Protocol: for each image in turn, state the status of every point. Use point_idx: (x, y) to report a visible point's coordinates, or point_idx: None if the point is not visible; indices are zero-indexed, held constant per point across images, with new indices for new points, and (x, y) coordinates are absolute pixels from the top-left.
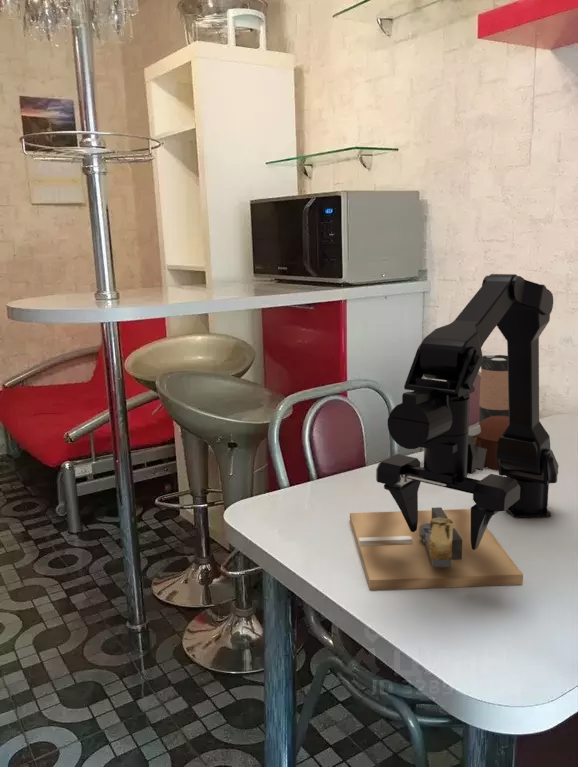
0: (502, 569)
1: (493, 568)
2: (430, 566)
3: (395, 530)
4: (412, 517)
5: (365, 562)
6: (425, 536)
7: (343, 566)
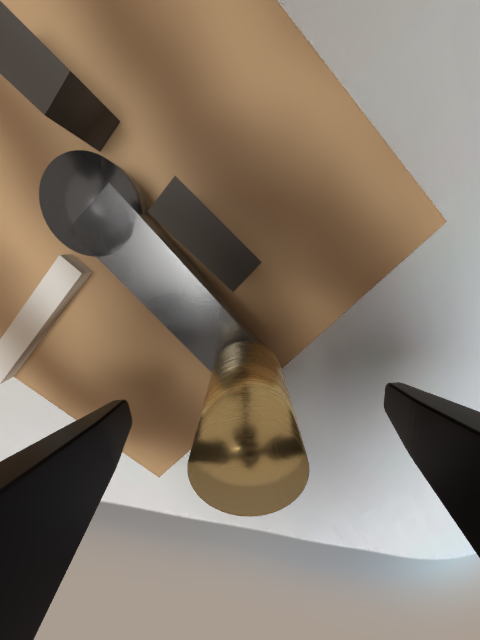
0: (383, 234)
1: (358, 248)
2: None
3: None
4: (94, 484)
5: None
6: (119, 277)
7: (58, 421)
